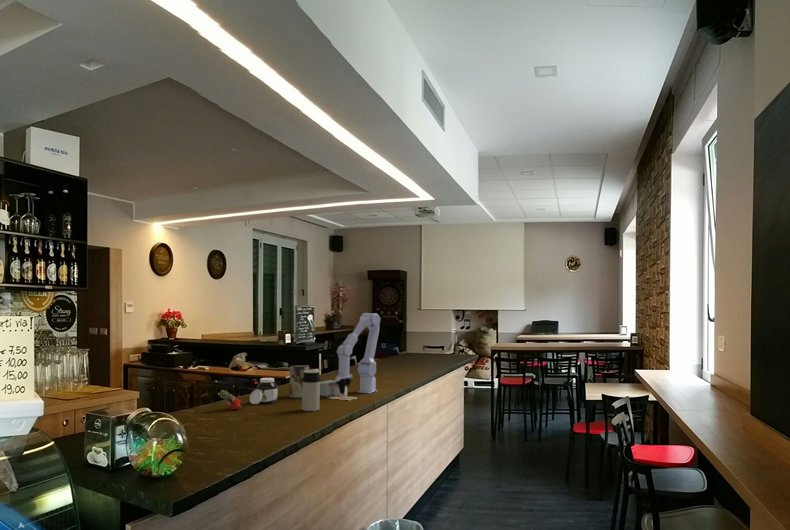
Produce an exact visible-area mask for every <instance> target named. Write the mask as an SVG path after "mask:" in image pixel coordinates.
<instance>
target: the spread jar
mask: <svg viewBox="0 0 790 530" xmlns="http://www.w3.org/2000/svg"><path fill="white" fill-rule="evenodd" d="M259 381H260V382H259V383H258V385H257V386H256V388H255V389H254V390H253V391H252V392H251V393H250V396H249V400H250V401H249V402H250V403H251V404H252V405H259V404H261V403H265V404H264V405H266V403H270V404H274V403H275V402H276V401H277V399H278V385H277V384H276V383H275V378H274V377H262V378H260V379H259Z"/></svg>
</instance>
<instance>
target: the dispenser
mask: <svg viewBox="0 0 790 530" xmlns="http://www.w3.org/2000/svg"><path fill="white" fill-rule="evenodd" d="M334 384H337V382H336V381H335V380H334V379H333V380H331V379H327V380H324V381H320V395H321V396H320V397H328V396H330V397H331V396H332V395H333V396H334Z"/></svg>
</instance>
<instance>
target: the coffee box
mask: <svg viewBox="0 0 790 530" xmlns="http://www.w3.org/2000/svg"><path fill="white" fill-rule="evenodd" d="M305 370H311V368H310V365H298V364H297V365H296V364H295V365H291V366H289V396H288V397H289V398H296V399H297V398H300V399H302V386H303V377H304V372H303V371H305Z"/></svg>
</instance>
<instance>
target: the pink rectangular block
mask: <svg viewBox="0 0 790 530" xmlns="http://www.w3.org/2000/svg"><path fill="white" fill-rule="evenodd" d="M334 395H339V396H347V397H348V391H347V385H345V392H344V394H341V393H340V390H339V386H338V384H334ZM334 395H333V396H334Z"/></svg>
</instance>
